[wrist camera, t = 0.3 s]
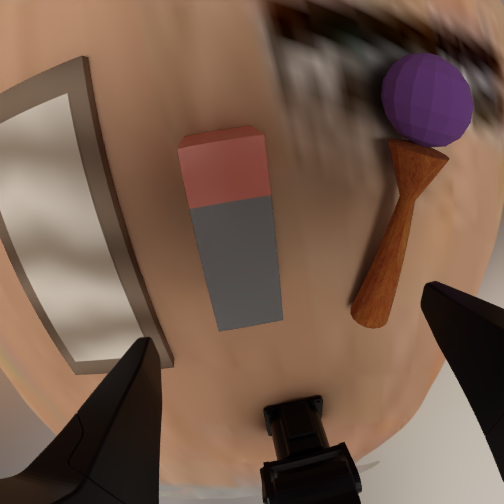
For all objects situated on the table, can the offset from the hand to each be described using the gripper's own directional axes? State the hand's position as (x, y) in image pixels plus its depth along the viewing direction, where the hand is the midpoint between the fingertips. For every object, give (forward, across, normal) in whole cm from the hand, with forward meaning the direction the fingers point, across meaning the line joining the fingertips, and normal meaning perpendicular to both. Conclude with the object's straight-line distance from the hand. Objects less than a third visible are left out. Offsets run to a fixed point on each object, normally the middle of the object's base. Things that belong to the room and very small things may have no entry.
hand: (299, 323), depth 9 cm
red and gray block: (+12, +1, +1) cm, 12 cm away
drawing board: (+12, +13, +1) cm, 18 cm away
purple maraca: (+12, -10, +1) cm, 16 cm away
